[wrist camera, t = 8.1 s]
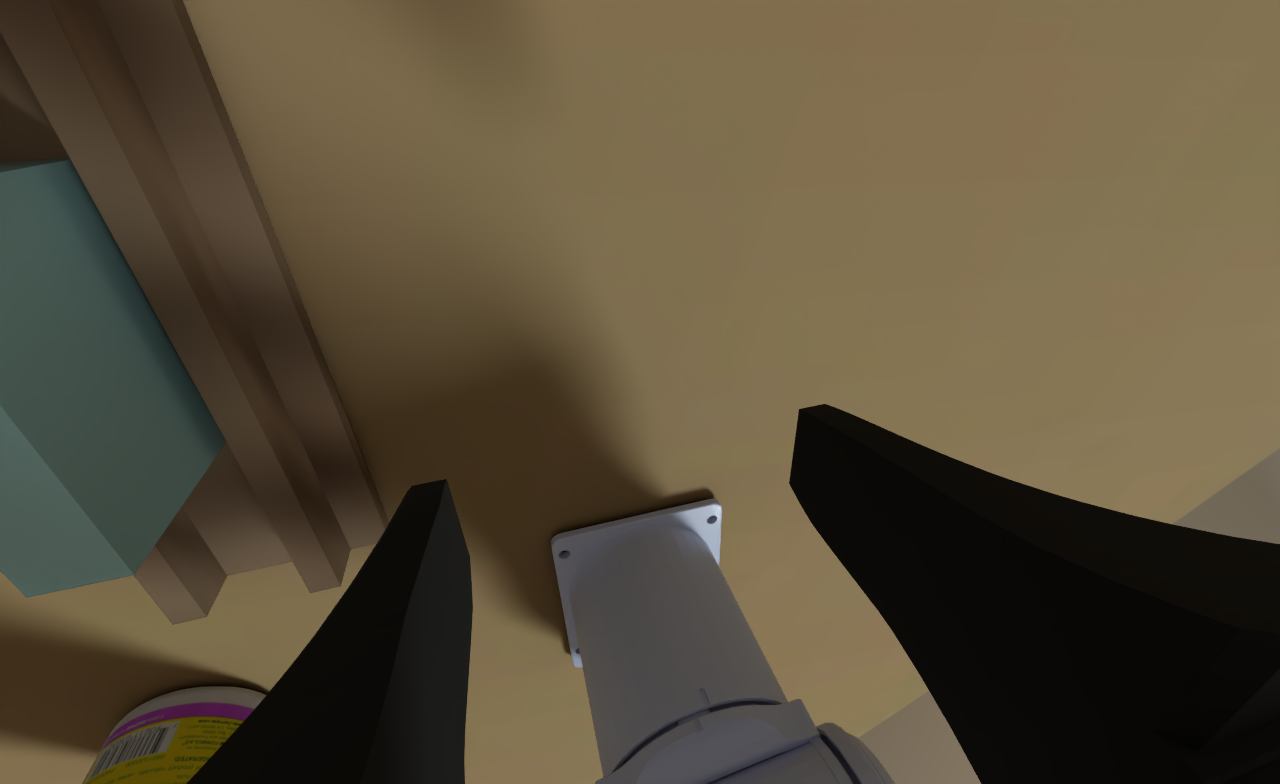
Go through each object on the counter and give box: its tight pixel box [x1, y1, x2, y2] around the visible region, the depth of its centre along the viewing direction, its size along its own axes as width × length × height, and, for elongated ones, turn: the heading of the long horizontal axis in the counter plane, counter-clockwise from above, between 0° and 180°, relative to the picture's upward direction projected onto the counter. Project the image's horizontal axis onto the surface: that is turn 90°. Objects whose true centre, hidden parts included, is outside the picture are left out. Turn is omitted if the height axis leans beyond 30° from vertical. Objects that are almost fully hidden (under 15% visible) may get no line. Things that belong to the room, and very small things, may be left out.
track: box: [0, 0, 389, 625], centre depth 12 cm, size 21×8×7 cm, turn 2°
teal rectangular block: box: [0, 158, 226, 597], centre depth 12 cm, size 8×2×6 cm, turn 2°
